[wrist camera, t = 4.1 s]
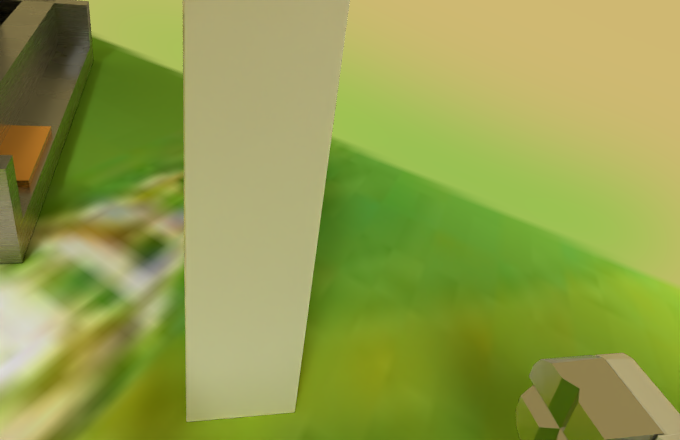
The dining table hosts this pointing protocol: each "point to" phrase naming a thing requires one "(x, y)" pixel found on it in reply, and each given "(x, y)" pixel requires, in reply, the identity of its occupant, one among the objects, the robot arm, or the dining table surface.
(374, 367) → the dining table surface
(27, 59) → the rack
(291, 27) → the beige rectangular block
